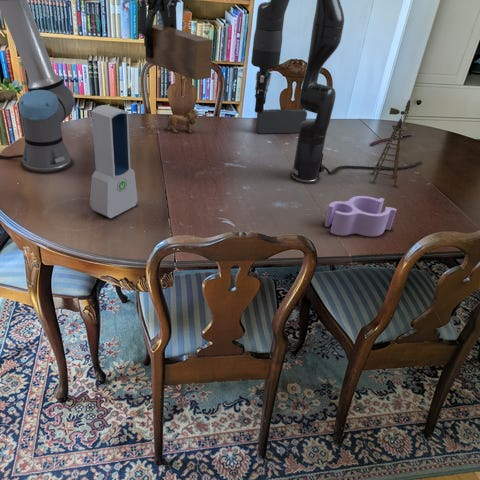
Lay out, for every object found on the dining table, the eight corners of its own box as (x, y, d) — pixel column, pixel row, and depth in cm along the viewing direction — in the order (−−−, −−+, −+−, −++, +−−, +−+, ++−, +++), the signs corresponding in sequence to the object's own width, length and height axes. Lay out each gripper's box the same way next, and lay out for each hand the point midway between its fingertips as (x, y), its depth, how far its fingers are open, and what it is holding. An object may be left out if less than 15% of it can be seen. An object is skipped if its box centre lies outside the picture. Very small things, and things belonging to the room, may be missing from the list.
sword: (408, 133, 222) (409, 131, 221) (413, 135, 220) (414, 133, 219) (365, 145, 206) (365, 142, 205) (370, 147, 204) (371, 145, 203)
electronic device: (108, 220, 133) (101, 117, 116) (89, 211, 136) (79, 109, 119) (138, 204, 142) (135, 106, 125) (120, 196, 145) (115, 100, 129)
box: (145, 61, 155) (144, 25, 149) (160, 59, 159) (160, 24, 153) (195, 80, 141) (197, 41, 135) (210, 77, 144) (212, 39, 138)
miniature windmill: (395, 186, 170) (420, 105, 154) (372, 182, 171) (394, 101, 155) (394, 176, 177) (417, 97, 161) (371, 173, 178) (392, 94, 162)
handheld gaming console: (301, 130, 212) (305, 108, 207) (304, 132, 210) (308, 110, 205) (254, 131, 205) (257, 109, 200) (256, 134, 203) (259, 111, 197)
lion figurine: (196, 128, 202) (197, 107, 197) (199, 132, 198) (200, 111, 193) (162, 129, 197) (162, 108, 192) (165, 133, 193) (165, 112, 188)
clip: (337, 240, 135) (342, 219, 131) (318, 218, 145) (322, 198, 141) (395, 233, 141) (402, 213, 137) (373, 213, 151) (378, 194, 147)
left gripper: (138, -23, 134) (140, 61, 146) (190, -21, 146) (187, 56, 158) (123, -26, 138) (126, 56, 151) (175, -24, 150) (174, 52, 163)
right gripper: (279, 54, 117) (271, 117, 126) (282, 44, 129) (274, 102, 138) (250, 50, 117) (243, 113, 126) (255, 40, 129) (249, 99, 138)
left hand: (158, 56), depth 155 cm, fingers closed on box, 6 cm apart
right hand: (260, 107), depth 132 cm, fingers open, 8 cm apart
